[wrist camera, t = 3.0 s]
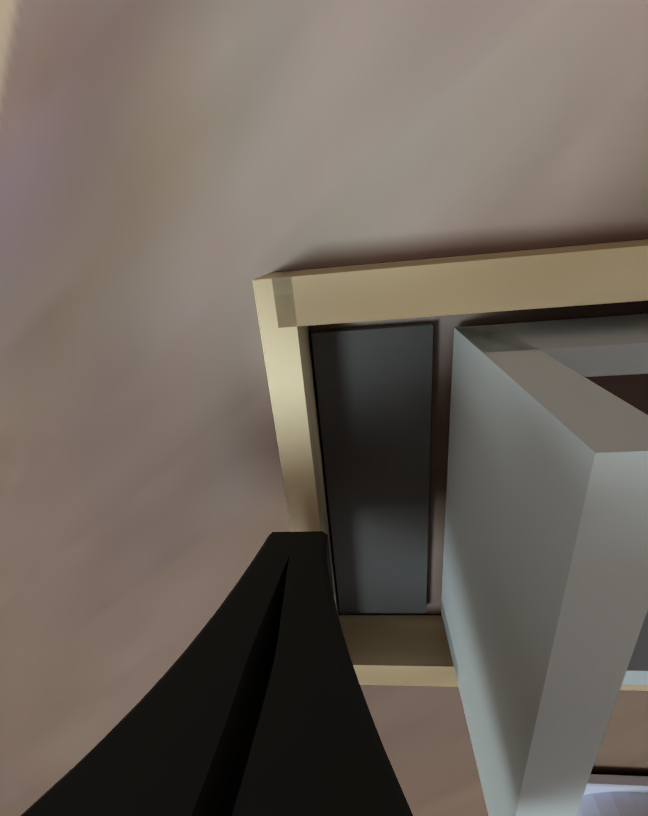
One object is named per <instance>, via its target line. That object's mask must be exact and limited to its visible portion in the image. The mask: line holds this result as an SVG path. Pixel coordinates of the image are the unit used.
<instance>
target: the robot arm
mask: <svg viewBox="0 0 648 816" xmlns="http://www.w3.org/2000/svg"><path fill="white" fill-rule="evenodd" d="M21 816H413V815H412V812H411V810H410V808H409V805H408V803H407V801H406V798H405V796H404V794H403V791H402V789H401V787H400V784H399V782H398V780H397V778H396V775H395V773H394V771H393V768H392V766H391V764H390V761H389V759H388V757H387V754H386V752H385V750H384V747H383V745H382V742H381V740H380V737H379V735H378V732H377V729H376V727H375V724H374V722H373V719H372V717H371V714H370V711H369V709H368V706H367V703H366V701H365V698H364V695H363V692H362V690H361V687H360V684H359V681H358V678H357V675H356V673H355V670H354V667H353V664H352V661H351V657H350V654H349V651H348V648H347V645H346V641H345V638H344V635H343V631H342V628H341V624H340V621H339V617H338V613H337V609H336V604H335V600H334V587H333V578H332V569H331V560H330V550H329V541H328V535H327V534H326V533H325V532H323V531H307V532H272V533H271V534H270V535H269V536H268V538H267V539H266V541H265V543H264V544H263V546H262V547H261V549H260V550H259V552H258V553H257V555H256V556H255V558H254V560H253V561H252V563H251V564H250V565H249V567H248V568H247V570H246V571H245V573H244V574H243V576H242V577H241V579H240V580H239V581H238V583H237V584H236V586H235V587H234V588H233V590H232V591H231V592H230V594H229V595H228V597H227V598H226V599H225V601H224V602H223V603H222V605H221V606H220V608H219V609H218V610H217V611H216V613H215V614H214V615H213V617H212V618H211V619H210V620H209V622H208V623H207V624H206V625H205V627H204V628H203V629H202V630H201V632H200V633H199V634H198V635H197V637H196V638H195V639H194V640H193V642H192V643H191V644H190V645H189V647H188V648H187V649H186V650H185V651H184V653H183V654H182V655H181V656H180V657H179V658H178V660H177V661H176V662H175V663H174V664H173V665H172V667H171V668H170V669H169V670H168V671H167V672H166V673H165V675H164V676H163V677H162V678H161V679H160V680H159V681H158V682H157V683H156V684H155V686H154V687H153V688H152V689H151V690H150V691H149V692H148V693H147V694H146V695H145V696H144V698H143V699H142V700H141V701H140V702H139V703H138V704H137V705H136V706H135V707H134V708H133V709H132V710H131V711H130V712H129V713H128V714H127V715H126V716H125V717H124V718H123V719H122V720H121V721H120V722H119V723H118V724H117V725H116V726H115V727H114V728H113V729H112V730H111V731H110V732H109V733H108V734H107V736H106V737H105V738H104V739H103V740H102V741H100V742H99V743H98V744H97V745H96V746H95V747H94V748H93V749H92V750H91V751H90V752H89V753H88V754H87V755H86V756H85V757H84V758H83V759H82V760H81V761H80V762H79V763H78V764H77V765H76V766H75V767H74V768H72V769H71V770H70V771H69V772H68V773H67V774H66V775H65V776H64V777H63V778H61V779H60V780H59V781H58V782H57V783H56V784H55V785H54V786H53V787H52V788H50V789H49V790H48V791H47V792H46V793H45V794H44V795H43V796H42V797H41V798H40V799H38V800H37V801H36V802H35V803H34V804H33V805H32V806H31V807H30V808H29V809H27V810H26V811H25V812H24V813H23V814H22V815H21ZM576 816H648V776H628V775H604V774H590V777H589V780H588V783H587V786H586V788H585V791H584V794H583V797H582V800H581V803H580V806H579V808H578V811H577V814H576Z"/></svg>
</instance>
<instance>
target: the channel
mask: <svg viewBox="0 0 648 816" xmlns="http://www.w3.org/2000/svg"><path fill="white" fill-rule="evenodd" d="M252 281H253V288H254V294H255V301H256V307H257V314H258V320H259V326H260V333H261V339H262V346H263V352H264V359H265V365H266V372H267V378H268V385H269V391H270V398H271V404H272V410H273V417H274V423H275V430H276V436H277V443H278V449H279V456H280V462H281V469H282V475H283V482H284V488H285V494H286V501H287V507H288V514H289V520H290V527H291V532H307V531H323V532H325V533H326V534H327V535H328V541H329V550H330V560H331V569H332V578H333V587H334V600H335V604H336V609H337V613H338V607H337V598H336V588H335V579H334V569H333V560H332V550H331V540H330V531H329V521H328V512H327V502H326V493H325V483H324V473H323V464H322V454H321V445H320V435H319V426H318V416H317V406H316V397H315V387H314V378H313V368H312V359H311V349H310V340H309V330H308V326H310V325H324V324H337V323H351V322H364V321H378V320H391V319H405V318H418V317H432V316H445V315H458V314H472V313H485V312H499V311H512V310H526V309H539V308H553V307H566V306H580V305H593V304H606V303H620V302H633V301H647V300H648V239H645V240H634V241H622V242H611V243H600V244H589V245H578V246H566V247H555V248H544V249H533V250H521V251H510V252H499V253H488V254H477V255H465V256H454V257H443V258H432V259H421V260H409V261H398V262H387V263H376V264H364V265H353V266H342V267H331V268H320V269H308V270H297V271H286V272H275V273H269V274H266V275H264V276H261V277H259V278H256V279H254V280H252ZM311 336H312V346H313V355H314V365H315V375H316V385H317V395H318V404H319V414H320V424H321V434H322V444H323V453H324V463H325V473H326V483H327V493H328V502H329V512H330V522H331V532H332V542H333V551H334V561H335V571H336V581H337V591H338V600H339V610H340V613H426V596H427V556H428V515H429V475H430V434H431V394H432V353H433V324H432V323H431V322H429V323H415V324H401V325H388V326H374V327H360V328H346V329H333V330H319V331H312V333H311ZM338 617H339V621H340V624H341V628H342V631H343V635H344V638H345V641H346V645H347V648H348V651H349V654H350V657H351V661H352V664H353V667H354V670H355V673H356V675H357V678H358V681H359V684H360V685H401V686H450V687H459V686H458V682H457V678H456V673H455V669H454V665H453V661H452V656H451V652H450V648H449V643H448V639H447V635H446V631H445V626H444V622H443V618H442V615H338ZM620 690H644V691H648V685H626V684H622V685H621V688H620Z"/></svg>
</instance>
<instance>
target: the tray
mask: <svg viewBox="0 0 648 816" xmlns="http://www.w3.org/2000/svg"><path fill="white" fill-rule="evenodd" d="M631 374H648V314H635V315H621V316H607V317H593V318H579V319H565V320H551V321H537V322H523V323H509V324H495V325H481V326H466V327H454V340H453V362H452V383H451V405H450V427H449V448H448V470H447V491H446V513H445V534H444V556H443V577H442V599H441V613H442V618H443V622H444V626H445V631H446V635H447V639H448V643H449V648H450V652H451V656H452V661H453V665H454V669H455V673H456V678H457V682H458V686H459V691H460V695H461V699H462V704H463V708H464V712H465V716H466V721H467V725H468V729H469V734H470V738H471V742H472V746H473V751H474V755H475V759H476V764H477V768H478V772H479V776H480V781H481V785H482V789H483V794H484V798H485V802H486V806H487V811H488V815H489V816H576V814H577V811H578V808H579V806H580V803H581V800H582V797H583V794H584V791H585V788H586V786H587V783H588V780H589V777H590V774H591V771H592V768H593V765H594V763H595V760H596V757H597V754H598V751H599V748H600V745H601V743H602V740H603V737H604V734H605V731H606V728H607V725H608V722H609V720H610V717H611V714H612V711H613V708H614V705H615V702H616V699H617V697H618V694H619V691H620V688H621V685H622V684H626V685H648V415H647V414H645V413H643V412H642V411H640V410H638V409H637V408H635V407H633V406H632V405H630V404H628V403H627V402H625V401H623V400H622V399H620V398H618V397H617V396H615V395H613V394H612V393H610V392H608V391H607V390H605V389H603V388H602V387H600V386H598V385H597V384H595V383H593V382H592V381H590V380H589V379H587V378H585V377H595V376H613V375H631Z"/></svg>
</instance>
